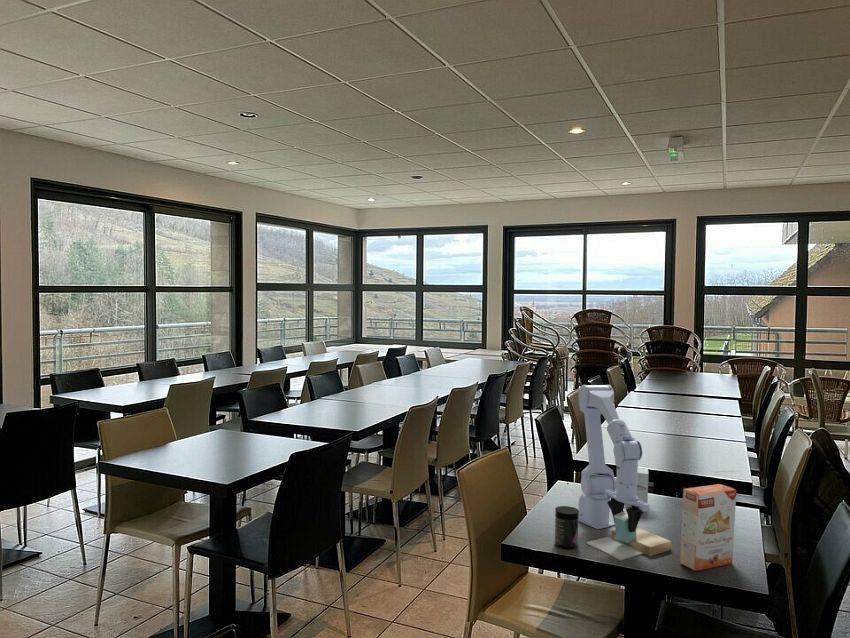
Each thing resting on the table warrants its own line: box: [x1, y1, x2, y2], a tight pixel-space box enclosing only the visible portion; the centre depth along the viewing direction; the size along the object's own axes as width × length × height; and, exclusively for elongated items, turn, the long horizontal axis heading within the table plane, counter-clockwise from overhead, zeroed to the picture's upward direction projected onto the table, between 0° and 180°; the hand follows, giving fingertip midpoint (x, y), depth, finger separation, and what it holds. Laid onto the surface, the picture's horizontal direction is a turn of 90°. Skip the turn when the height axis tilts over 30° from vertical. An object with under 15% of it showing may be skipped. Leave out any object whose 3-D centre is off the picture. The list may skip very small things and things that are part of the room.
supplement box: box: [624, 467, 649, 508], centre depth 217 cm, size 7×7×13 cm
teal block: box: [614, 510, 636, 543], centre depth 182 cm, size 4×4×7 cm
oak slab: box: [611, 526, 672, 557], centre depth 184 cm, size 14×9×2 cm, turn 31°
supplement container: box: [554, 505, 580, 550], centre depth 182 cm, size 7×7×10 cm
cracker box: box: [679, 483, 737, 572], centre depth 171 cm, size 14×6×21 cm, turn 114°
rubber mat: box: [585, 536, 644, 561], centre depth 180 cm, size 13×9×1 cm
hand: (625, 528), depth 182 cm, fingers open, 5 cm apart
